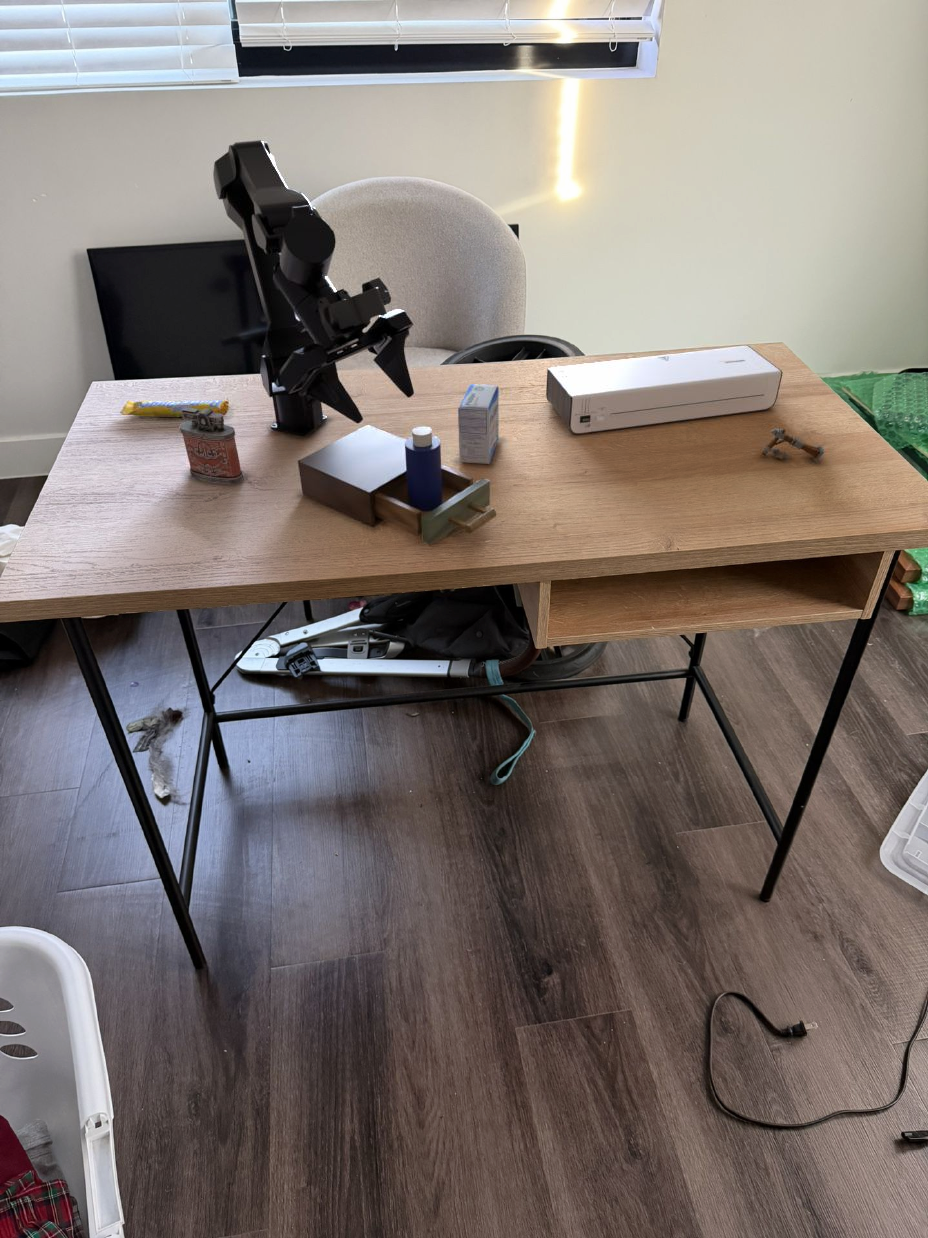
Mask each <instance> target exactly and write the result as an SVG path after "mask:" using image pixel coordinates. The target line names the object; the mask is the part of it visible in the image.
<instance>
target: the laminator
mask: <svg viewBox="0 0 928 1238" xmlns="http://www.w3.org/2000/svg"><path fill="white" fill-rule="evenodd" d="M782 378H783V371H782V370H781V369H780V368H779V367H777V366H776V365H775V364H774V363H773V362H771V361H769V360H768V359H767V358H766V357H764V356H763V355H762V354H760V353H759V352H758V351H756V350H755V349H753V348H752V347H751V346H750V345H740V346H739V345H738V346H731V347H722V348H715V349H705V350H697V351H688V352H679V353H670V354H662V355H661V354H660V355H652V356H643V357H636V358H627V359H618V360H610V361H609V360H608V361H601V362H594V363H593V362H592V363H583V364H575V365H565V366H557V367H548V368H547V370H546V386H545V388H546V390H545V398H546V400H547V402H548V403H550V405H551V407H552V408H553V409H554V410H555V411H556V413H557V414H558V416H559V417H560V418H561V420H562V421H563V422H564V424H565V425H566V426H567V428H568V429H569V432H570V433H571V434H573V435H577V436H578V435H579V436H580V435H581V436H582V435H587V434H588V435H589V434H595V433H603V432H604V433H605V432H611V431H619V430H627V429H634V428H635V429H636V428H641V427H648V426H657V425H663V424H673V423H681V422H688V421H696V420H702V419H703V420H704V419H711V418H719V417H726V416H733V415H741V414H743V415H744V414H748V413H758V412H765V411H768V410H770V409H772V408H774V406H775V404H776V403H777V399H778V395H779V391H780V387H781V382H782Z"/></svg>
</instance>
